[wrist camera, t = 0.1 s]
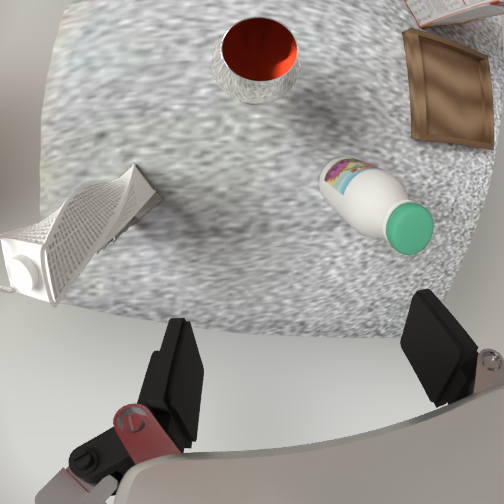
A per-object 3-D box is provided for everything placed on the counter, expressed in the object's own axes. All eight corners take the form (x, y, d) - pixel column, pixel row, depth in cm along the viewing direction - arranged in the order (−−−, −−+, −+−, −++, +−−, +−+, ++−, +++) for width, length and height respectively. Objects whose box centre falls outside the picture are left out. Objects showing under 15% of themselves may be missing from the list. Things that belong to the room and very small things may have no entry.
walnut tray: (402, 32, 29) (411, 27, 26) (477, 57, 28) (487, 56, 26) (411, 137, 36) (421, 139, 34) (483, 147, 36) (493, 150, 33)
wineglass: (237, 46, 31) (233, -9, 14) (292, 70, 32) (330, 32, 16) (211, 96, 34) (185, 74, 18) (266, 119, 35) (286, 115, 19)
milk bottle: (366, 204, 41) (441, 265, 23) (319, 209, 41) (374, 278, 23) (365, 154, 38) (451, 186, 20) (315, 158, 38) (377, 191, 20)
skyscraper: (99, 184, 38) (-35, 273, 13) (134, 150, 37) (-10, 210, 11) (131, 225, 42) (29, 350, 16) (168, 194, 40) (69, 311, 15)
